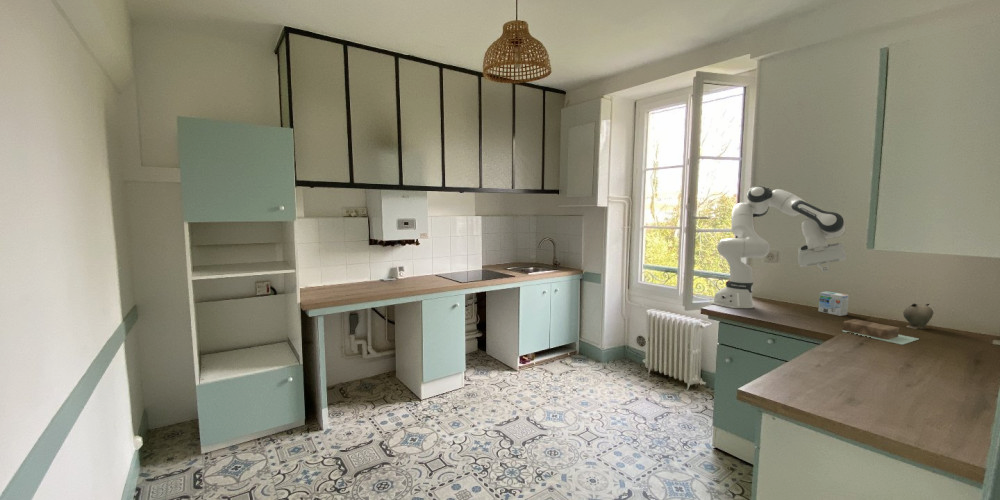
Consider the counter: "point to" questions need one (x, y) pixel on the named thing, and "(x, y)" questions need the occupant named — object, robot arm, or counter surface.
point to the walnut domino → (871, 329)
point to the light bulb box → (833, 303)
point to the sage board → (898, 340)
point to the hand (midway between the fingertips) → (825, 271)
